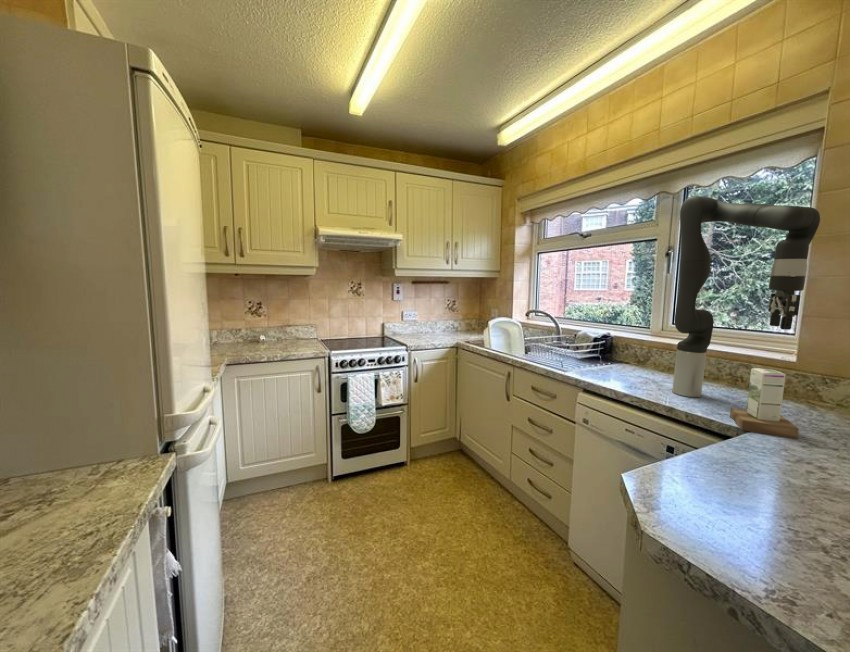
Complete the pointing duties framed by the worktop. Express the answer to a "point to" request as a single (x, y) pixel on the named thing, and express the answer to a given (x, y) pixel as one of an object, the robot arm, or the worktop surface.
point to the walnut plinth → (764, 424)
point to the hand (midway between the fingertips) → (779, 327)
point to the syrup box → (765, 394)
